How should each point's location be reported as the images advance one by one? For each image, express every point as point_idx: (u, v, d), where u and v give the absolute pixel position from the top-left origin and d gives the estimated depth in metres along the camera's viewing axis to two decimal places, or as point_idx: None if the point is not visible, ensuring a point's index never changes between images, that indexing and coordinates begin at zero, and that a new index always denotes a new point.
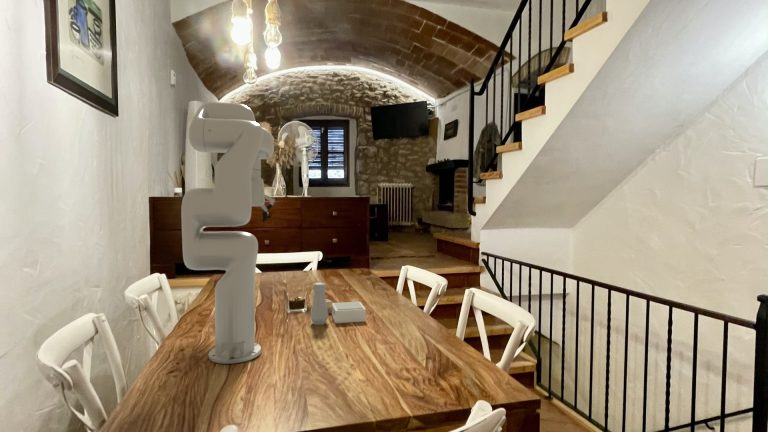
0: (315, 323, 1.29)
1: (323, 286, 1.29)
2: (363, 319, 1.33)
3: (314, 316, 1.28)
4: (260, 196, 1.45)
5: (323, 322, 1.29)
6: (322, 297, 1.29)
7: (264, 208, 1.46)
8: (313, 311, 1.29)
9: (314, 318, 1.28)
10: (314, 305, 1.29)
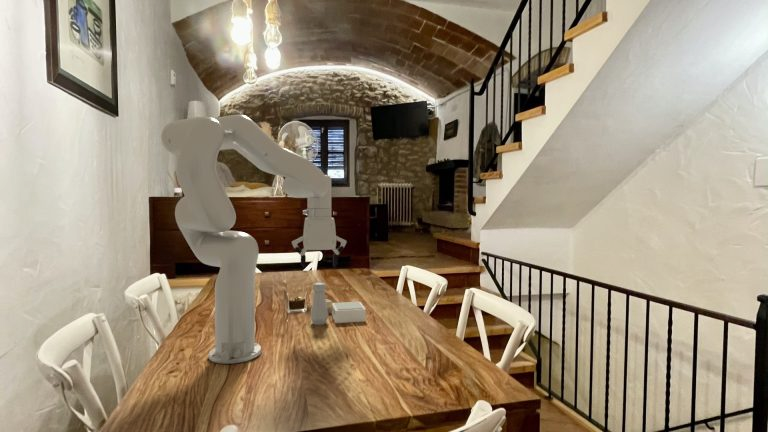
0: (315, 323, 1.29)
1: (323, 286, 1.29)
2: (363, 319, 1.33)
3: (314, 316, 1.28)
4: (332, 238, 1.28)
5: (323, 322, 1.29)
6: (322, 297, 1.29)
7: (335, 251, 1.30)
8: (313, 311, 1.29)
9: (314, 318, 1.28)
10: (314, 305, 1.29)
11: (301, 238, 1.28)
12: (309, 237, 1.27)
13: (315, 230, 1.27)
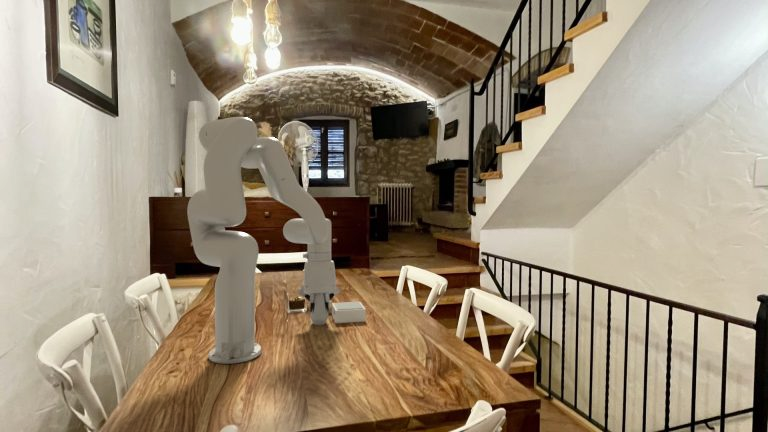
0: (315, 323, 1.29)
1: None
2: (363, 319, 1.33)
3: (314, 316, 1.28)
4: (332, 282, 1.29)
5: (323, 322, 1.29)
6: (322, 297, 1.30)
7: (326, 298, 1.30)
8: None
9: (314, 318, 1.28)
10: None
11: None
12: (309, 281, 1.27)
13: (315, 274, 1.27)
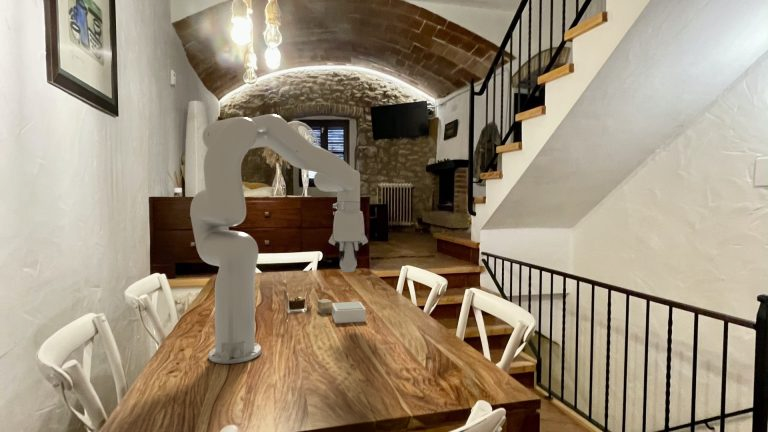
0: (345, 270, 1.35)
1: None
2: (363, 319, 1.33)
3: (344, 263, 1.34)
4: (361, 230, 1.34)
5: (352, 269, 1.35)
6: (351, 245, 1.35)
7: (355, 247, 1.35)
8: (343, 259, 1.34)
9: (344, 265, 1.34)
10: (344, 253, 1.35)
11: None
12: (339, 229, 1.33)
13: (345, 222, 1.33)
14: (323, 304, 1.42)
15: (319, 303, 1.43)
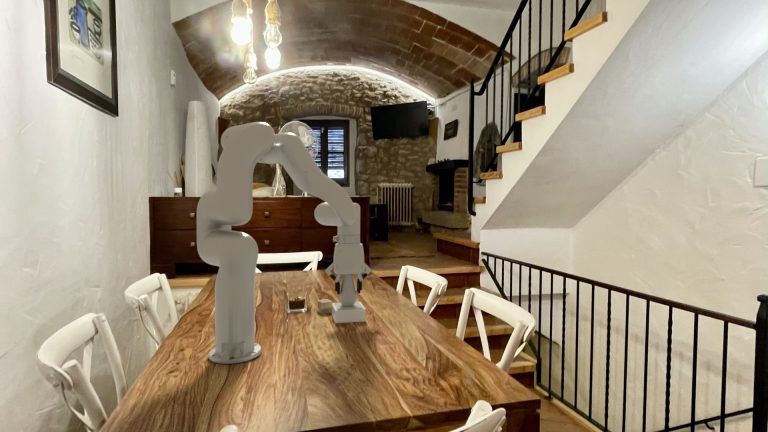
0: (344, 305, 1.35)
1: None
2: (363, 319, 1.33)
3: (343, 298, 1.34)
4: (361, 263, 1.35)
5: (352, 304, 1.35)
6: (351, 280, 1.35)
7: (359, 278, 1.36)
8: (342, 293, 1.35)
9: (343, 300, 1.34)
10: (343, 288, 1.35)
11: (333, 265, 1.35)
12: (339, 262, 1.33)
13: (346, 255, 1.33)
14: (323, 304, 1.42)
15: (319, 303, 1.43)
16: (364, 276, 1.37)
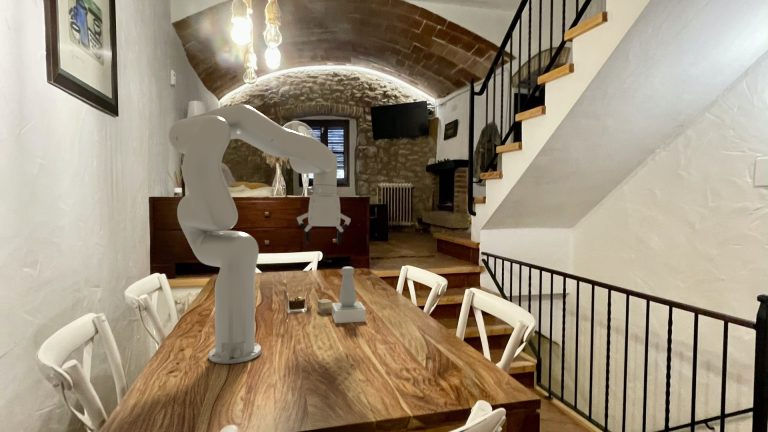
0: (344, 305, 1.35)
1: (352, 269, 1.35)
2: (363, 319, 1.33)
3: (343, 298, 1.34)
4: (336, 215, 1.30)
5: (352, 304, 1.35)
6: (351, 280, 1.35)
7: (339, 228, 1.32)
8: (342, 293, 1.35)
9: (343, 300, 1.34)
10: (343, 288, 1.35)
11: (306, 214, 1.30)
12: (314, 213, 1.29)
13: (320, 206, 1.29)
14: (323, 304, 1.42)
15: (319, 303, 1.43)
16: (344, 227, 1.33)
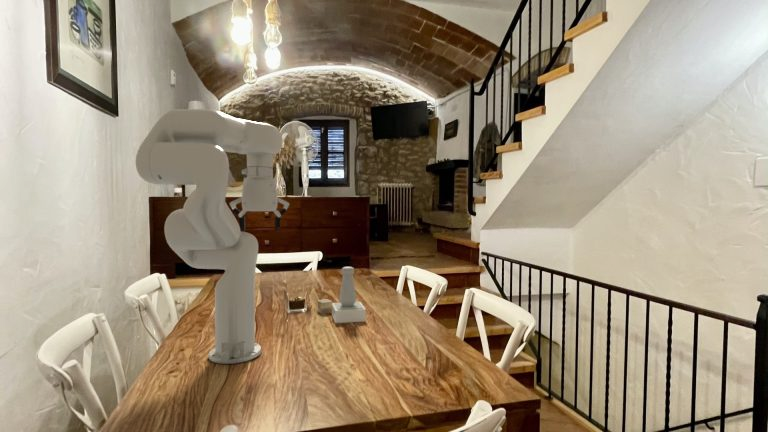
0: (344, 305, 1.35)
1: (352, 269, 1.35)
2: (363, 319, 1.33)
3: (343, 298, 1.34)
4: (272, 199, 1.21)
5: (352, 304, 1.35)
6: (351, 280, 1.35)
7: (277, 213, 1.23)
8: (342, 293, 1.35)
9: (343, 300, 1.34)
10: (343, 288, 1.35)
11: (240, 199, 1.21)
12: (247, 197, 1.20)
13: (254, 190, 1.20)
14: (323, 304, 1.42)
15: (319, 303, 1.43)
16: (282, 212, 1.24)
